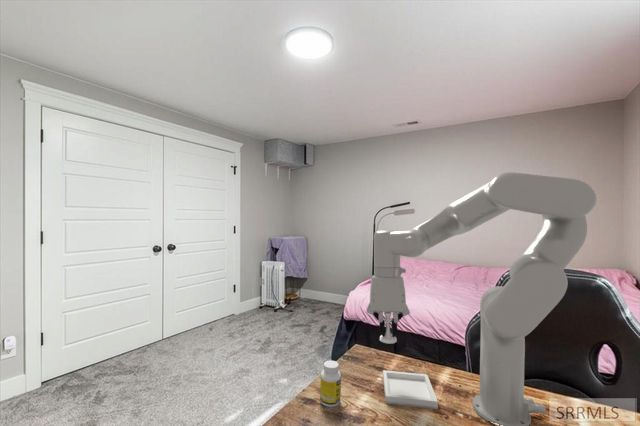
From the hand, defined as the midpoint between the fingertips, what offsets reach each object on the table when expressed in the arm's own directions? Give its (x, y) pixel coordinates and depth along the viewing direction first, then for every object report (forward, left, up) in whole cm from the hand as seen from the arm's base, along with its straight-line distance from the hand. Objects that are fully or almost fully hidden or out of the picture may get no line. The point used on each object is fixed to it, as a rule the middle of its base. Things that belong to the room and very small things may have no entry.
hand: (388, 334), depth 87 cm
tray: (-5, +3, -14) cm, 16 cm away
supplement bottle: (+16, +11, -15) cm, 24 cm away
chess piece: (0, 0, -2) cm, 2 cm away
